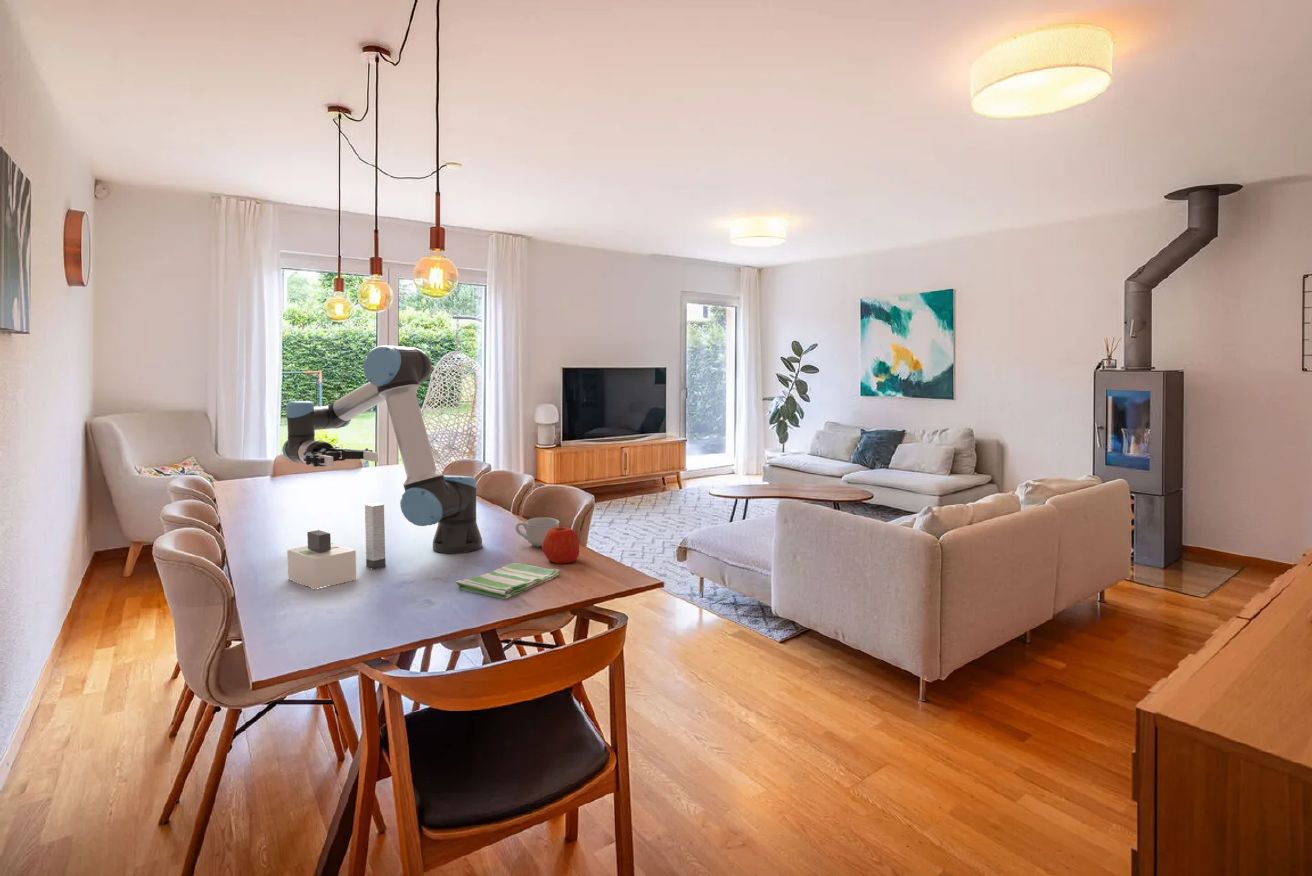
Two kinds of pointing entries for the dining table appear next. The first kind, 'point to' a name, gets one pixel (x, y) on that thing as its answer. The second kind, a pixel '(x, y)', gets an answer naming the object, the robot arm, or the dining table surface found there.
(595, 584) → the dining table surface
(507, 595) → the dish towel
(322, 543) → the knob
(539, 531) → the teacup
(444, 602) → the dining table surface
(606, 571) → the dining table surface
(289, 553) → the bevelled white plinth
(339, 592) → the dining table surface
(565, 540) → the apple
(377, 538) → the white tall square post
